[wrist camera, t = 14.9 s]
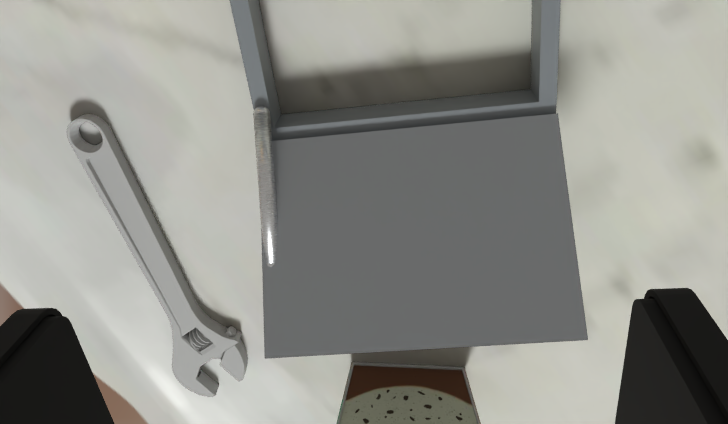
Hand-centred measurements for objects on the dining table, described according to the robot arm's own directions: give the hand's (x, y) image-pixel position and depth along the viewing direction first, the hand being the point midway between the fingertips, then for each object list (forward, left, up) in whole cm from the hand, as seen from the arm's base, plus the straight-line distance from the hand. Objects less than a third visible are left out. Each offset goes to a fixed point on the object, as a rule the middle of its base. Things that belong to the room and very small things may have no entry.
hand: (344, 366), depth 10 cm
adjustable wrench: (+18, +16, -29) cm, 38 cm away
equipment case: (-1, +3, -29) cm, 29 cm away
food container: (+1, +30, -29) cm, 42 cm away
